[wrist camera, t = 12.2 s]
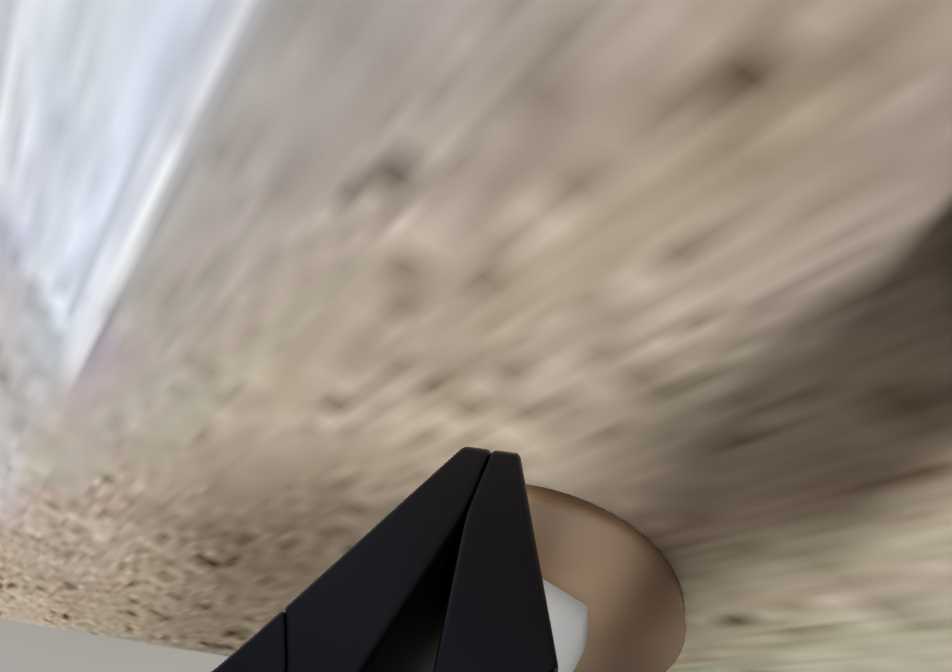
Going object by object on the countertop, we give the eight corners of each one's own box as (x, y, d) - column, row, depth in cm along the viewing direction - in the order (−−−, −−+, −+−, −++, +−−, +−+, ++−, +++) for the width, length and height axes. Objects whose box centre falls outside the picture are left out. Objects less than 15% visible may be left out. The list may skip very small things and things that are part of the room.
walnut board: (707, 510, 25) (709, 532, 24) (664, 700, 34) (665, 722, 33) (367, 461, 29) (357, 478, 28) (405, 643, 37) (399, 661, 36)
